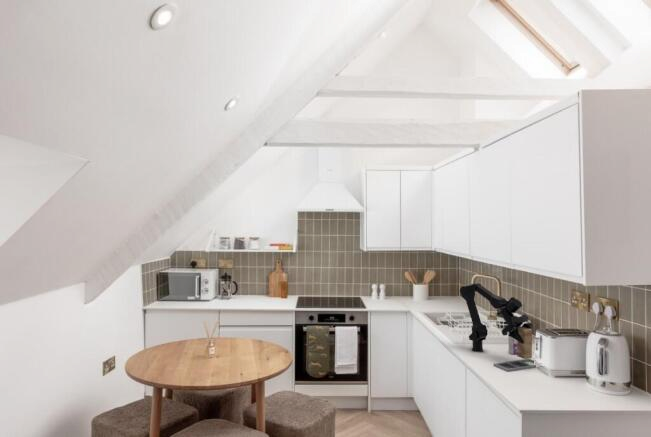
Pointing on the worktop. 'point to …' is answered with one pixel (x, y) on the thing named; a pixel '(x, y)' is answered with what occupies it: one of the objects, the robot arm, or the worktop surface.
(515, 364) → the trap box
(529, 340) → the walnut block
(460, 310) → the worktop surface
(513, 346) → the candy bar box
